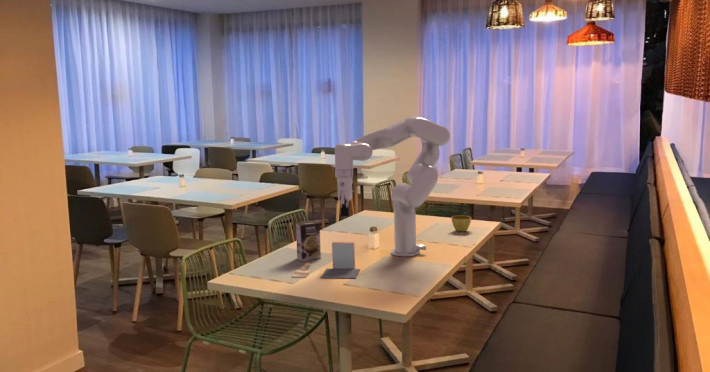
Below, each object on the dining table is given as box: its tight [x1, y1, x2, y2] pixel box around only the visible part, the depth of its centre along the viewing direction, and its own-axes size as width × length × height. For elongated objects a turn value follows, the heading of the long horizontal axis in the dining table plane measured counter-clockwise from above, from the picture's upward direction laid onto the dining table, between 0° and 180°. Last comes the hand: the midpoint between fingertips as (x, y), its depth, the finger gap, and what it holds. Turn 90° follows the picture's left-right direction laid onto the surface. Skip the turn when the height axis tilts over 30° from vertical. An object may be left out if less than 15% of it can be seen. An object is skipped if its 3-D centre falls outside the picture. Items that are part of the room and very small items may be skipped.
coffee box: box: [295, 220, 322, 262], centre depth 264 cm, size 9×6×16 cm
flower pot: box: [451, 214, 472, 232], centre depth 307 cm, size 10×10×7 cm
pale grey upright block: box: [331, 241, 356, 269], centre depth 248 cm, size 9×2×11 cm, turn 82°
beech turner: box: [291, 262, 311, 279], centre depth 246 cm, size 17×6×1 cm, turn 172°
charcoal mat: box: [320, 268, 361, 280], centre depth 241 cm, size 14×12×1 cm
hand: (344, 216), depth 254 cm, fingers closed
